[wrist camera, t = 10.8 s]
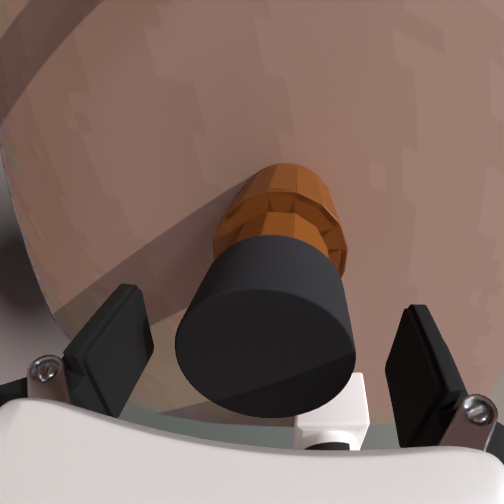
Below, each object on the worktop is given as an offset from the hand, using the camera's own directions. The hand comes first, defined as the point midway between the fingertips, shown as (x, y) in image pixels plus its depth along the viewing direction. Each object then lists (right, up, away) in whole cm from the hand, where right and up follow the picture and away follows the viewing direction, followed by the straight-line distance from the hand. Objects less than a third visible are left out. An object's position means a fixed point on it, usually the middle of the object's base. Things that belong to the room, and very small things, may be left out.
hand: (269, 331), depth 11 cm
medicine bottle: (+8, -13, +23) cm, 27 cm away
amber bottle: (+2, +6, +14) cm, 16 cm away
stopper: (+1, +2, +6) cm, 6 cm away
